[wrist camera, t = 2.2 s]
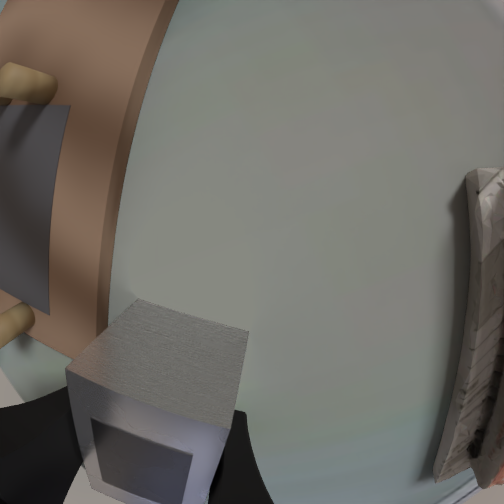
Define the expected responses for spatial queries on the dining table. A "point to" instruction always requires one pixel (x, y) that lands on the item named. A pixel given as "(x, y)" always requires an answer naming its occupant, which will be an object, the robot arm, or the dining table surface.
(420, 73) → the dining table surface
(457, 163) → the dining table surface
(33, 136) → the walnut tray
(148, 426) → the block
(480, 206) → the packaged product
